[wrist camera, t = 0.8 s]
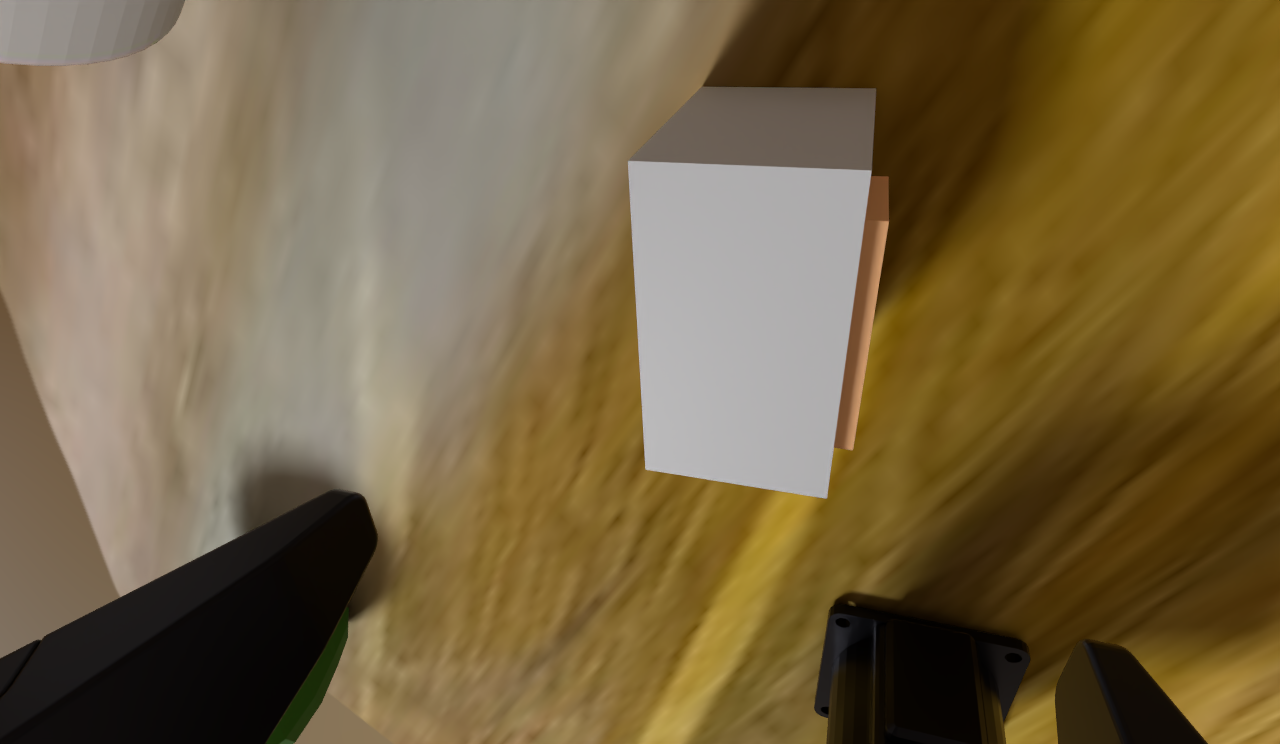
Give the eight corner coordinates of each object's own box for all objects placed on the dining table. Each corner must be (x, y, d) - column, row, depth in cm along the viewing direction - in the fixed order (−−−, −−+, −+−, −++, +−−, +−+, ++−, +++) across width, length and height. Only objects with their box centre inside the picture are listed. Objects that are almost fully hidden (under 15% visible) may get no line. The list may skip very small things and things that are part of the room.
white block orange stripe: (856, 353, 19) (846, 501, 15) (701, 337, 20) (645, 469, 16) (894, 88, 15) (899, 171, 11) (701, 86, 17) (628, 160, 12)
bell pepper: (201, 546, 36) (9, 726, 28) (288, 512, 32) (91, 713, 24) (311, 649, 39) (165, 839, 31) (403, 630, 35) (262, 843, 27)
